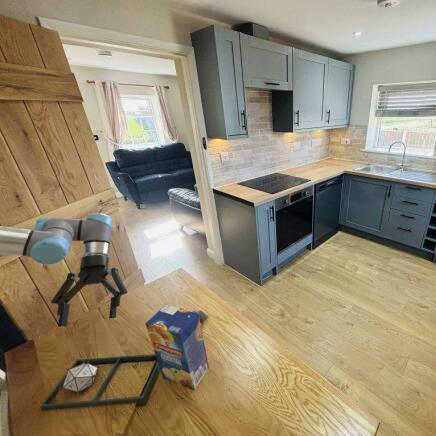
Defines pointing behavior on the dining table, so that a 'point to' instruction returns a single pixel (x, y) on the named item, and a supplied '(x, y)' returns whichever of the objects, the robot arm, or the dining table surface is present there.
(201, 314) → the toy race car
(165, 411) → the dining table surface
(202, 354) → the juice carton
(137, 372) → the dining table surface
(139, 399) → the grid
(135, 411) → the dining table surface
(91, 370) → the game die
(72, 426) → the dining table surface
